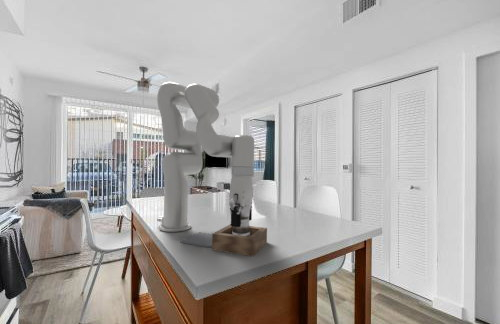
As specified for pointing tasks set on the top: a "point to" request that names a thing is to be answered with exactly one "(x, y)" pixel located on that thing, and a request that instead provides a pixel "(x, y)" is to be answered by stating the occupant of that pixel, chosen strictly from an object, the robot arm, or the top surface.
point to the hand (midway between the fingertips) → (241, 223)
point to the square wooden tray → (239, 240)
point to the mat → (199, 239)
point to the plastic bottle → (243, 220)
